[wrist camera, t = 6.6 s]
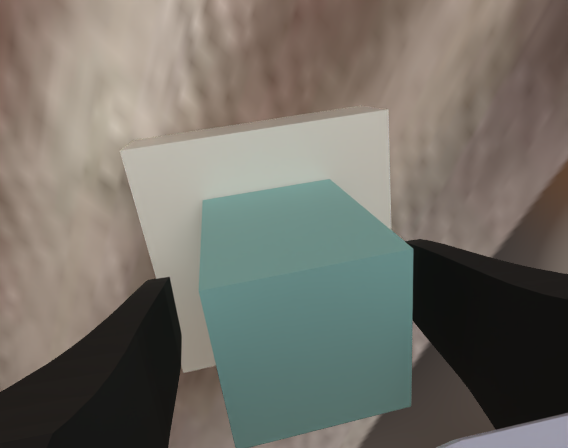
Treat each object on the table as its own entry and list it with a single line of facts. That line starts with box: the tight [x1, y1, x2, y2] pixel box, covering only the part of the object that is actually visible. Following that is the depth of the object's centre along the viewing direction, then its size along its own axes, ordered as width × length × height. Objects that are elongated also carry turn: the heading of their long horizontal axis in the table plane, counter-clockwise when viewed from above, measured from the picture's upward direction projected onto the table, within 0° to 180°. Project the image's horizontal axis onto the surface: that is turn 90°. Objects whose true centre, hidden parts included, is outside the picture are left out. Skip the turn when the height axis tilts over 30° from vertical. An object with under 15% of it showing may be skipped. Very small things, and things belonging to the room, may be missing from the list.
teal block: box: [199, 179, 413, 448], centre depth 11 cm, size 4×4×6 cm
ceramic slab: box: [120, 106, 391, 373], centre depth 16 cm, size 9×9×3 cm
